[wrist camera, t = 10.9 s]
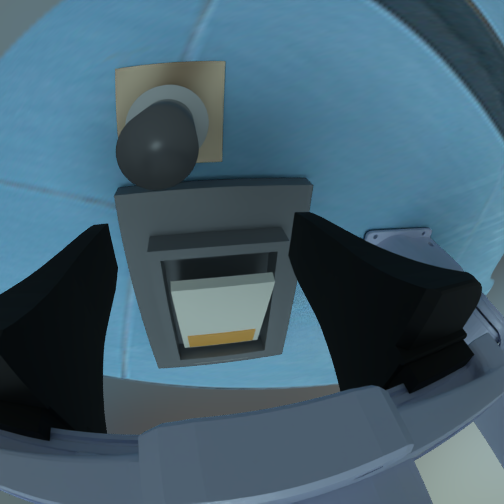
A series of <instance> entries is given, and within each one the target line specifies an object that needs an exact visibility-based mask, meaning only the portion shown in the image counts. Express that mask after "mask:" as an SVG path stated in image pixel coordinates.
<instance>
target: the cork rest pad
mask: <svg viewBox="0 0 504 504" xmlns="http://www.w3.org/2000/svg"><path fill="white" fill-rule="evenodd" d="M224 79H225V61H194V62H173V63H160V64H150V65H141V66H133V67H126V68H119V69H115V87H116V114H117V131H118V137H119V135H120V133H121V131H122V129H123V128H124V126H125V123H126V117H127V114H128V112H129V110H130V108H131V106H132V104H133V103H134V102H135V100H136V99H137V98H138V97H139V96H140V95H142V94H143V93H144V92H146V91H148V90H150V89H152V88H154V87H157V86H162V85H178V86H182V87H185V88H187V89H189V90H191V91H192V92H194V93H195V94H196V95H197V96H198V97H199V98H200V99H201V101H202V102H203V104H204V105H205V108H206V110H207V113H208V119H209V127H208V132H207V136H206V138H205V141H204V142H203V144H202V146H201V147H200V148H199V153H198V158H197V162H196V163H203V162H222V143H223V106H224Z"/></svg>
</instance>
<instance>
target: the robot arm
mask: <svg viewBox="0 0 504 504" xmlns="http://www.w3.org/2000/svg"><path fill="white" fill-rule="evenodd" d="M431 233H432V230H431V229H430V228H413V229H394V230H375V231H369V232H367V233H366V235H365V239H362V238H360V237H358V236H356V235H354V234H352V233H350V232H348V231H346V230H344V229H343V228H341V227H339V226H337V225H335V224H333V223H331V222H330V221H328V220H326V219H324V218H322V217H320V216H318V215H316V214H313V213H311V212H295V213H294V220H293V227H292V233H291V240H290V247H289V253H288V256H289V259H290V262H291V266H292V268H293V271H294V274H295V276H296V278H297V280H298V282H299V284H300V286H301V288H302V290H303V292H304V294H305V296H306V298H307V300H308V302H309V304H310V305H311V307H312V309H313V311H314V313H315V315H316V317H317V319H318V322H319V324H320V326H321V329H322V332H323V334H324V337H325V340H326V343H327V346H328V349H329V352H330V355H331V358H332V361H333V365H334V368H335V372H336V376H337V379H338V383H339V387H340V392H338V393H334V394H331V395H327V396H323V397H319V398H315V399H311V400H307V401H303V402H299V403H294V404H289V405H284V406H279V407H274V408H269V409H263V410H257V411H252V412H245V413H237V414H230V415H222V416H214V417H203V418H193V419H187V420H181V421H175V422H168V423H162V424H160V425H158V426H156V427H154V428H152V429H150V430H147V431H145V432H144V433H142V434H141V435H124V434H123V435H122V434H107V430H106V423H105V414H104V401H103V400H104V399H103V355H104V343H105V336H106V331H107V326H108V321H109V316H110V312H111V308H112V303H113V299H114V294H115V290H116V282H117V272H118V266H117V262H116V258H115V254H114V249H113V245H112V240H111V236H110V231H109V226H108V224H99V225H93V226H91V227H90V228H88V229H87V230H85V231H84V232H83V233H82V234H80V235H79V236H78V237H77V238H76V239H74V240H73V241H72V242H71V243H70V244H69V245H67V246H66V247H65V248H64V249H63V250H62V251H60V252H59V253H58V254H57V255H55V256H54V257H53V258H52V259H51V260H49V261H48V262H47V263H46V264H45V265H43V266H42V267H41V268H39V269H38V270H37V271H35V272H34V273H33V274H31V275H30V276H28V277H27V278H26V279H24V280H23V281H21V282H20V283H18V284H16V285H15V286H13V287H12V288H10V289H8V290H7V291H5V292H4V293H2V294H0V491H3V492H5V493H8V494H10V495H13V496H15V497H18V498H20V499H23V500H26V501H29V502H32V503H35V504H433V503H432V500H431V498H430V496H429V494H428V491H427V489H426V487H425V484H424V482H423V480H422V478H421V476H420V473H419V471H418V469H417V467H416V465H415V462H414V461H415V460H416V459H418V458H420V457H421V456H423V455H425V454H426V453H428V452H430V451H431V450H433V449H434V448H436V447H438V446H439V445H441V444H442V443H443V442H445V441H447V440H448V439H450V438H451V437H453V436H454V435H455V434H457V433H458V432H460V431H461V430H462V429H464V428H465V427H466V426H468V425H469V424H470V423H472V422H473V421H474V423H475V424H476V426H477V427H478V429H479V430H480V432H481V433H482V435H483V436H484V438H485V439H486V441H487V442H488V444H489V446H490V447H491V448H492V450H493V452H494V453H495V455H496V457H497V458H498V460H499V462H500V463H501V465H502V467H503V468H504V317H503V316H502V314H501V313H500V312H499V311H498V310H497V309H496V307H495V306H494V305H493V304H492V303H491V302H490V301H489V300H488V298H487V297H486V296H485V295H484V294H483V293H482V287H481V284H480V283H479V282H478V281H477V279H476V278H475V277H474V276H473V275H471V274H470V273H468V272H464V271H463V269H462V267H461V266H460V265H459V264H458V263H457V262H456V261H455V260H454V259H453V258H452V257H451V256H450V255H449V254H447V253H446V252H445V251H444V250H443V249H442V248H441V247H440V246H439V245H438V244H437V243H436V242H434V241H433V240H432V239H431V238H430V236H431ZM374 235H375V236H374ZM499 342H500V343H499ZM498 343H499V345H498Z"/></svg>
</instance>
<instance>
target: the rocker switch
mask: <svg viewBox="0 0 504 504" xmlns="http://www.w3.org/2000/svg"><path fill="white" fill-rule="evenodd" d="M170 282H171V294H172V299H173V303H174V307H175V311H176V315H177V320H178V324H179V327H180V331H181V335H182V339H183V343H184V346H185V348H188V347H199V346H209V345H219V344H227V343H236V342H243V341H251V340H257V339H258V336H259V332H260V329H261V326H262V323H263V320H264V316H265V313H266V310H267V307H268V304H269V300H270V297H271V294H272V291H273V287H274V284H275V279H274V276H273V272H269V273H259V274H249V275H238V276H228V277H217V278H205V279H194V280H182V281H170Z"/></svg>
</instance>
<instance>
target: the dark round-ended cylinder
mask: <svg viewBox="0 0 504 504" xmlns="http://www.w3.org/2000/svg"><path fill="white" fill-rule="evenodd" d="M208 127H209V119H208V113H207V110H206V108H205V105H204V104H203V102H202V101H201V99H200V98H199V97H198V96H197V95H196V94H195V93H194V92H192V91H191V90H189V89H187V88H185V87H182V86H178V85H162V86H157V87H154V88H152V89H150V90H148V91H146V92H144V93H143V94H142V95H140V96H139V97H138V98H137V99H136V100H135V102H134V103H133V104H132V106H131V108H130V110H129V112H128V114H127V117H126V123H125V126H124V128H123V129H122V131H121V133H120V135H119V137H118V140H117V145H116V158H117V162H118V165H119V168H120V169H121V171H122V173H123V174H124V176H125V177H126V178H127V179H128V180H129V181H131V182H132V183H133V184H135V185H137V186H139V187H141V188H145V189H150V190H162V189H167V188H170V187H173V186H175V185H177V184H178V183H180V182H182V181H183V180H184V179H185V178H186V177H187V176H188V175H189V174H190V173H191V171H192V170H193V168H194V166H195V164H196V162H197V158H198V153H199V148H200V147H201V146H202V144H203V142H204V141H205V138H206V136H207V132H208Z"/></svg>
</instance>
